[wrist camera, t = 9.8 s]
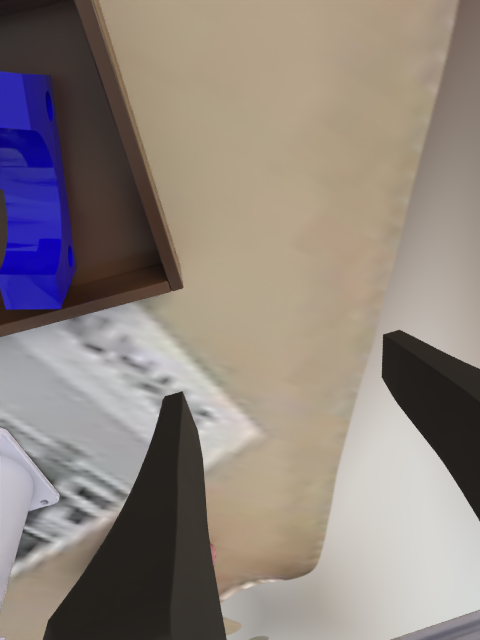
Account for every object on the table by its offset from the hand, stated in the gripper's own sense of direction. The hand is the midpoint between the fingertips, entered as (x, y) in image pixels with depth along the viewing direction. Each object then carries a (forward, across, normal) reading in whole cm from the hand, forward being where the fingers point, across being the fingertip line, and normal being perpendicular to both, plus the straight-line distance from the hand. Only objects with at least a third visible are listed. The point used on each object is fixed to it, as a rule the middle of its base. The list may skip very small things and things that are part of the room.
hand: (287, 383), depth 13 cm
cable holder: (+9, +8, -7) cm, 14 cm away
